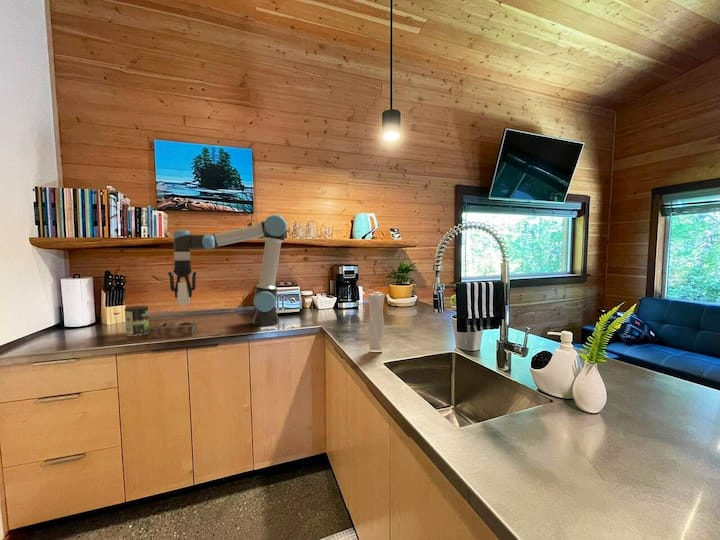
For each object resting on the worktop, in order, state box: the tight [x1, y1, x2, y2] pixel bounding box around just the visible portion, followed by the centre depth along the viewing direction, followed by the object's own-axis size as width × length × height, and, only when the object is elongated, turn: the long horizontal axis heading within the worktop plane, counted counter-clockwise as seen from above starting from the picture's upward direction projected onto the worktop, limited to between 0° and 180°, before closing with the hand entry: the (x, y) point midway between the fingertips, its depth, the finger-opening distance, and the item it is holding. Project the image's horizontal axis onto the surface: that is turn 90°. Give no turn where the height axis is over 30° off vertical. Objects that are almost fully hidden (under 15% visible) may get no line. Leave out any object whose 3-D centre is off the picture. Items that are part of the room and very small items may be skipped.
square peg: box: [178, 281, 189, 306], centre depth 170 cm, size 4×4×12 cm
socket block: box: [147, 320, 199, 340], centre depth 170 cm, size 20×14×5 cm
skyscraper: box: [366, 288, 386, 351], centre depth 142 cm, size 8×8×28 cm
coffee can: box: [124, 305, 150, 337], centre depth 170 cm, size 10×10×14 cm
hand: (183, 303), depth 171 cm, fingers closed on square peg, 4 cm apart
